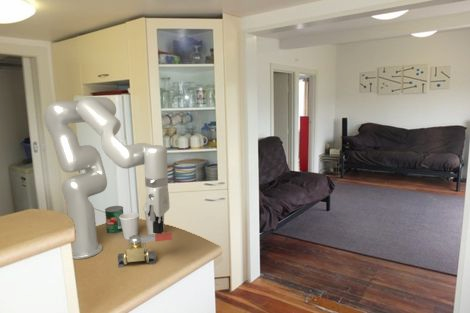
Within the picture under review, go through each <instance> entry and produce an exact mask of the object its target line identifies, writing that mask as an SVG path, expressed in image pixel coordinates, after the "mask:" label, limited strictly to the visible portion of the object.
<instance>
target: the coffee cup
mask: <svg viewBox="0 0 470 313" xmlns="http://www.w3.org/2000/svg"><path fill="white" fill-rule="evenodd" d="M142 209H143V211H144V216H145V224H146V229H147V235H151V234H156V233H153V223H152V221H150V216H147V212H146V202H145V203H144V205H143V208H142ZM164 229H165V217H164V218H163V232H162V233H165V230H164Z"/></svg>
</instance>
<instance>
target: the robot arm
mask: <svg viewBox="0 0 470 313" xmlns="http://www.w3.org/2000/svg"><path fill="white" fill-rule="evenodd" d="M116 113H117V107H116V104H115V102H114V101H113V100H112V99H110V98H108V97H106V96H105V97H104V96H88V97H83V98H81V99H80V100H58V101H54V102H51V103H49V104H48V105H47V106H46V108H45V110H44V113H43V120H44V124H45V126H46V129H47V131H48V133H49V136H50V137H51V139H52V143H53V147H54V150H55V153H56V156H57V161H58V163H59V167H60V169H61V170H62V171H63V172H65V173H74V172H80V171H83V170H84V171H85V172H83V173H79V174H75V175H71V176H69V177H67V178H66V179H65V180H63V183H62V184H61V192H62V195H63V198H64V200H65V205H66V211H67V217H68V216H69V217H71V218H72V219H73V221H74V224H75V230H76V241H75V242H74V243H72V252H73V258H72V259H75V260H80V259H89V258H91V257H94V256H96V255H98V254H100V253H101V252H102V250H103V245H102V244H101V243H98V234H97V225H96V213H95V207H94V205H93V203H92V202H91V201H90V199H89V198H90V197H92V196H95V195H98V194H101V193H102V192H104V191H105V190H106V188H107V185H108V179H107V175H106V170H105V167H104V163H103V160H102V156H101V153H100V152H99V150H98V149H97V148H96V147H95V146H93V145H89V144H88V145H86V144H85V145H80V143H79V141H78V140H79V139H78V136H77V134H76V132H75V131H74V130H73V129H72V128H71V127H70V126H69V124H78V123H86V124H87V125H88V126H89V127H91V129H93V131H95V133H97V134H98V135H99V137H100V145H101V148H102V150H103V153H104V154H105V155H106V156H107V157H108V159H109V160H111V161H112V162H113V163H114V164H115V165H116V166H118V167H119V168H122V169H131V168H135V167H138V166H144V181H145V182H144V186H145V188H146V195H145V196H146V198H145V203H146V212H147V216H150V221H152V223H153V233H157V234H162V232H163V218H164V219H165V214H166V213H167V212H168V211H169V210H170V196H169V183H168V182H169V180H168V179H169V177H168V175H169V174H168V171H169V170H168V150H167V147H166V146H164V145H157V144H155V145H153V144H149V143H146V142H140V143H134V144H128V145H124V144H123V143H122V142H121V141H120V140H119V139H118V138H117V137H116V135H117V134H118V132H119V131H120V130H121V125H122V124H121V121H120V120H119V119H118V118H117V117H116Z"/></svg>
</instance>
